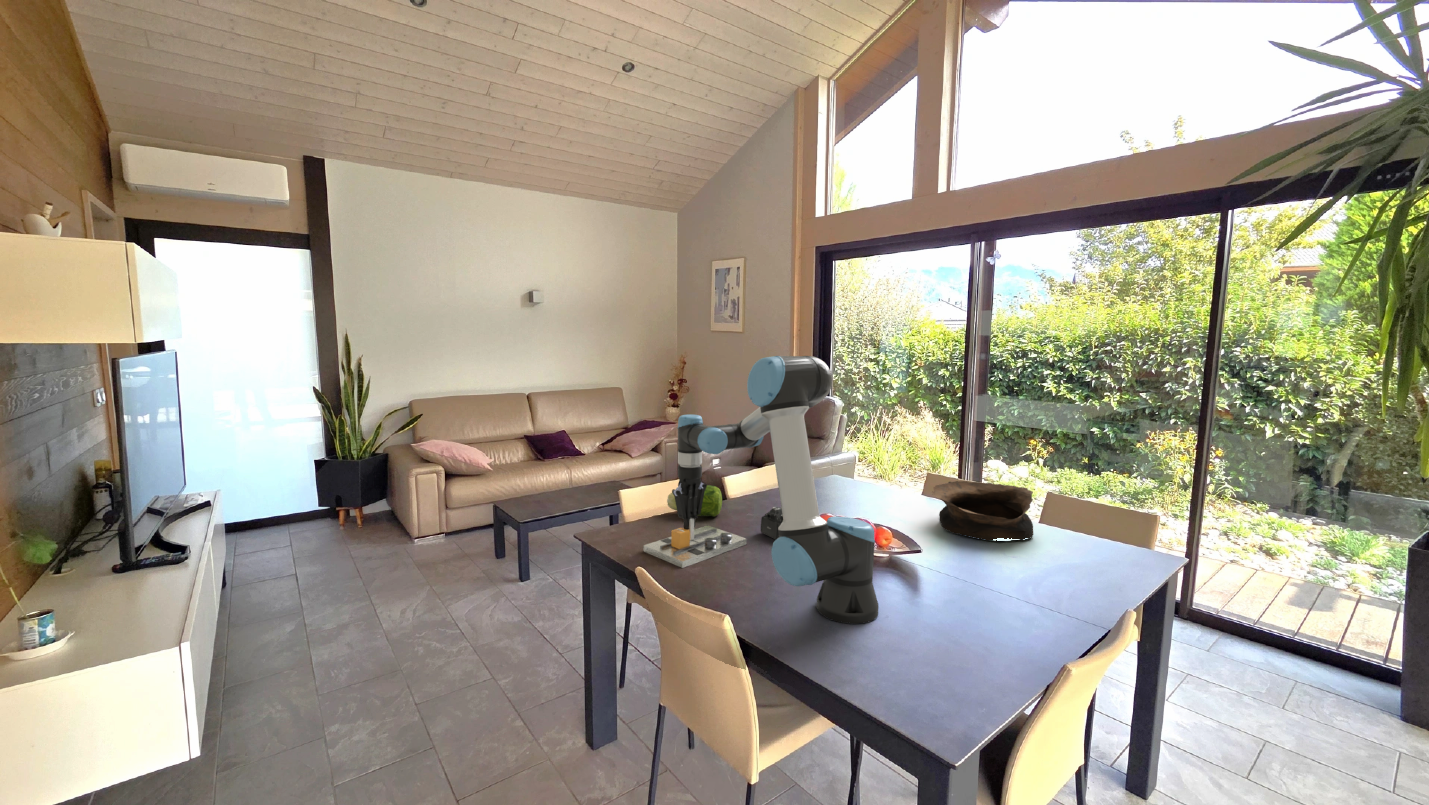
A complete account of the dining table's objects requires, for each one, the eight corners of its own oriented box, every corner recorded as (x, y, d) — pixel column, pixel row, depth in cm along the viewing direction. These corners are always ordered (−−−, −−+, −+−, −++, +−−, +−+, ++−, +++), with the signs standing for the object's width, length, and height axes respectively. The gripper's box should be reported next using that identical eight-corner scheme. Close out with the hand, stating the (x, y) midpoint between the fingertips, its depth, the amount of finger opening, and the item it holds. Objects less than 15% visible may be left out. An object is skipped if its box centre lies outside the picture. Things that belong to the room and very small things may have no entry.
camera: (803, 537, 205) (804, 508, 204) (789, 545, 197) (790, 515, 196) (769, 529, 213) (769, 501, 212) (754, 536, 205) (754, 508, 203)
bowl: (1055, 551, 199) (1058, 508, 196) (953, 556, 199) (955, 513, 196) (1004, 511, 233) (1006, 473, 230) (917, 514, 233) (919, 477, 229)
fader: (689, 546, 189) (689, 530, 188) (680, 549, 186) (680, 533, 185) (680, 542, 191) (681, 526, 191) (671, 546, 189) (671, 529, 188)
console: (746, 544, 197) (746, 531, 197) (682, 568, 177) (682, 553, 177) (707, 530, 210) (707, 518, 209) (643, 551, 190) (643, 537, 189)
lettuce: (669, 509, 234) (669, 480, 232) (722, 511, 232) (723, 482, 231) (664, 519, 222) (664, 488, 221) (721, 520, 221) (721, 490, 220)
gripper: (696, 459, 195) (696, 530, 198) (665, 466, 186) (665, 540, 189) (713, 463, 190) (712, 536, 193) (682, 470, 181) (682, 546, 184)
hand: (689, 538), depth 191 cm, fingers closed
